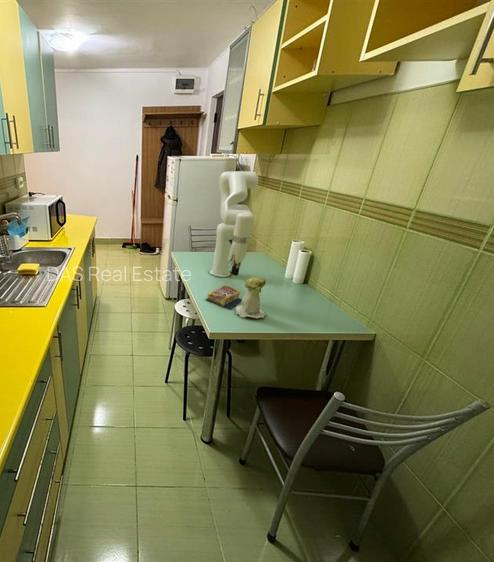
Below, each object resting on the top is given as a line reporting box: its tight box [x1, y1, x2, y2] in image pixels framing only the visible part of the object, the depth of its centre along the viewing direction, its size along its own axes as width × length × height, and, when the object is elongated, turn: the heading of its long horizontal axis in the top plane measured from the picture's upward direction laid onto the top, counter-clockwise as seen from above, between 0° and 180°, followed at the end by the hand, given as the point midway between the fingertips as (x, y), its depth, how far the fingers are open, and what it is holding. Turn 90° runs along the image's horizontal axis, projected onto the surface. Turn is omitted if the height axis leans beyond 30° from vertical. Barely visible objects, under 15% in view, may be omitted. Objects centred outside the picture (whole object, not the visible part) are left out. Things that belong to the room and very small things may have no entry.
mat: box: [206, 297, 243, 310], centre depth 154 cm, size 14×13×1 cm
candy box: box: [206, 285, 241, 307], centre depth 154 cm, size 9×4×15 cm
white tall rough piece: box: [235, 276, 267, 319], centre depth 138 cm, size 12×13×18 cm
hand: (234, 274), depth 153 cm, fingers closed
